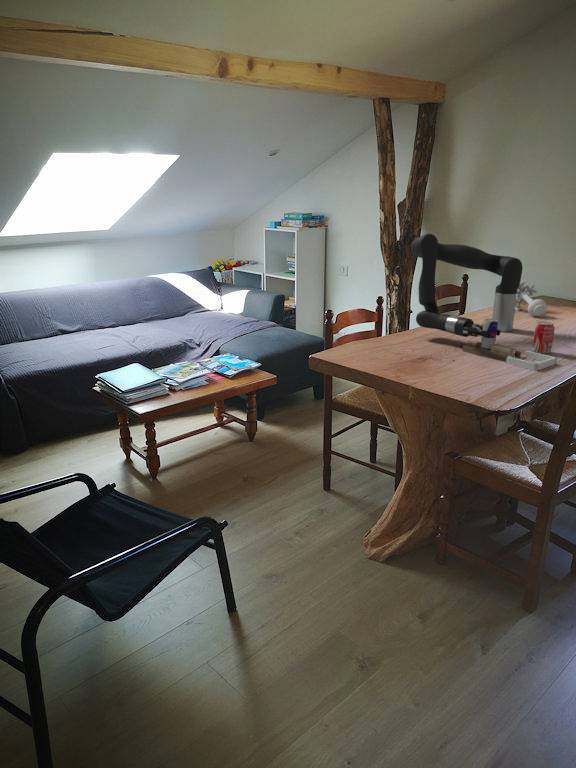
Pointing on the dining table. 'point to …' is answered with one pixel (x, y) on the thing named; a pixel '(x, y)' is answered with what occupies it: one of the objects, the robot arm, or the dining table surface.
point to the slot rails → (487, 352)
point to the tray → (544, 363)
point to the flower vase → (530, 300)
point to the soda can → (543, 337)
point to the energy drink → (491, 327)
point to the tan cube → (496, 348)
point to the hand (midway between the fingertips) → (495, 334)
